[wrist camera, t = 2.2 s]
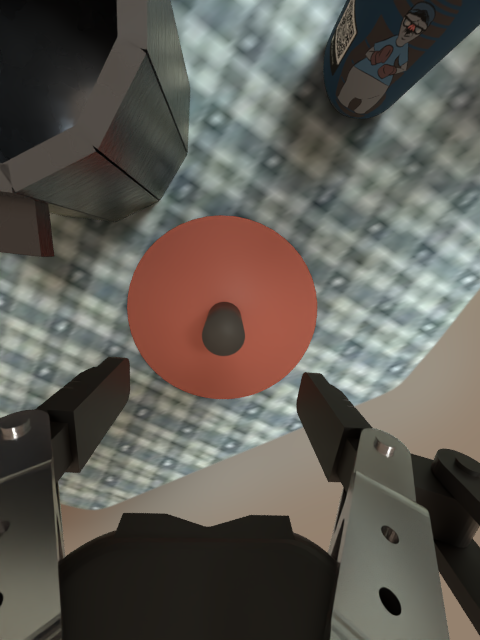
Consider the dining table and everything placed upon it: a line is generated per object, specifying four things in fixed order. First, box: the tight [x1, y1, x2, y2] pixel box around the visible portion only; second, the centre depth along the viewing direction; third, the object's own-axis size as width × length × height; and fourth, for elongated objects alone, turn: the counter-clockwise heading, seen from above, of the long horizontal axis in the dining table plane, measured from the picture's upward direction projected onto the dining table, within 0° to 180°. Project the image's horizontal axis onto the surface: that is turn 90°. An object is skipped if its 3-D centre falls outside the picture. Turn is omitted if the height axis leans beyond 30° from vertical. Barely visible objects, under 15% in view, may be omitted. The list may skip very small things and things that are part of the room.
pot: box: [0, 0, 190, 257], centre depth 13 cm, size 17×23×10 cm
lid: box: [127, 215, 317, 399], centre depth 20 cm, size 18×18×7 cm
